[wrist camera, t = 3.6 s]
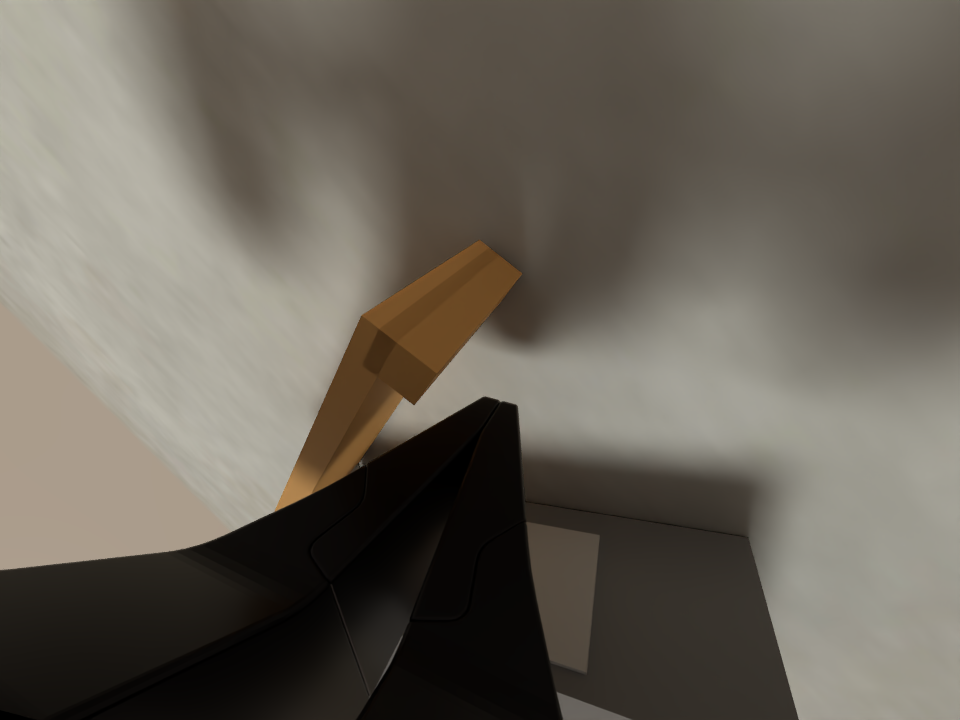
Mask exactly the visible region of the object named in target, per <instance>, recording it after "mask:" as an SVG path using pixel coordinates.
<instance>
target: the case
mask: <svg viewBox="0 0 960 720" xmlns="http://www.w3.org/2000/svg"><path fill="white" fill-rule="evenodd" d="M357 469H359V466H358V464H357V465H356V467H355V468H354V469H353V470H352V471H351V472H350V473H352V472H354V471H355V470H357ZM525 506H526V519H527V521H526V524H527V529H528V543H529V551H530V560H531V569H532V575H533V581H534V586H535V592H536V597H537V603H538V607H539V612H540V617H541V621H542V626H543V631H544V635H545V640H546V645H547V649H548V654H549V659H550V664H551V668H552V673H553V678H554V682H555V687H556V692H557V696H558V700H559V704H560V708H561V712H562V716H563V720H799V719H798V715H797V712H796V708H795V705H794V701H793V697H792V694H791V690H790V687H789V683H788V679H787V676H786V672H785V668H784V665H783V661H782V658H781V654H780V650H779V647H778V643H777V640H776V636H775V632H774V629H773V625H772V622H771V618H770V614H769V611H768V607H767V604H766V600H765V596H764V593H763V589H762V586H761V582H760V578H759V575H758V571H757V567H756V564H755V560H754V557H753V553H752V549H751V546H750V542H749V539H748V538H747V537H741V536H735V535H728V534H722V533H716V532H710V531H703V530H697V529H691V528H685V527H678V526H672V525H666V524H660V523H653V522H647V521H641V520H635V519H628V518H622V517H616V516H610V515H603V514H597V513H591V512H585V511H578V510H572V509H566V508H559V507H553V506H547V505H541V504H534V503H528V502H525ZM404 632H405V631H404ZM403 634H404V633H403ZM402 637H403V635H402ZM402 637H401V639H402ZM401 639H400V641H401ZM400 641H399V643H398V645H397V647H396V649H395V651H394V653H393V655H392V656H391V658H390V660H389V662H388V664H387V666H386V668H385V670H384V672H383V674H382V676H381V678H382V677H383V675H384V674H385V672H386V670H387V668H388V667H389V665H390V663H391V661H392V659H393V657H394V655H395V653H396V650H397V648H398V646H399V644H400ZM381 678H380V680H381ZM380 680H379V682H380ZM379 682H378V683H379ZM377 685H378V684H377ZM376 687H377V686H376ZM369 698H370V696H369Z"/></svg>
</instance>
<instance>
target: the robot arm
mask: <svg viewBox="0 0 960 720" xmlns="http://www.w3.org/2000/svg"><path fill="white" fill-rule="evenodd" d="M526 521H527V519H526V506H525V492H524V479H523V466H522V453H521V440H520V427H519V414H518V406H517V405H516V404H512V403H508V402H504V401H502V402H500V401H499V400H497V399H493V398H489V397H482V398H480V399H478V400H477V401H475V402H473V403H472V404H470V405H468V406H466V407H465V408H463V409H461V410H459V411H458V412H456V413H454V414H453V415H451V416H449V417H447V418H446V419H444V420H442V421H440V422H439V423H437V424H435V425H433V426H432V427H430V428H428V429H427V430H425V431H423V432H421V433H420V434H418V435H416V436H414V437H413V438H411V439H409V440H408V441H406V442H404V443H402V444H401V445H399V446H397V447H395V448H394V449H392V450H390V451H388V452H387V453H385V454H383V455H382V456H380V457H378V458H376V459H375V460H373V461H371V462H369V463H368V464H367V467H366V466H362V467H361V468H359V469H357V470H355V471H354V472H352V473H350V474H348V475H347V476H345V477H343V478H341V479H339V480H337V481H336V482H334V483H332V484H330V485H328V486H327V487H325V488H323V489H321V490H319V491H317V492H315V493H313V494H311V495H309V496H306V497H304V498H302V499H300V500H298V501H296V502H294V503H292V504H290V505H288V506H286V507H284V508H281V509H279V510H277V511H275V512H273V513H271V514H269V515H267V516H264V517H262V518H260V519H258V520H256V521H254V522H252V523H250V524H247V525H245V526H243V527H241V528H239V529H237V530H235V531H232V532H230V533H228V534H226V535H224V536H221V537H219V538H217V539H214V540H212V541H209V542H206V543H203V544H200V545H197V546H193V547H190V548H186V549H181V550H176V551H169V552H162V553H153V554H144V555H135V556H126V557H116V558H107V559H98V560H89V561H81V562H71V563H62V564H53V565H44V566H36V567H26V568H17V569H8V570H0V720H563V716H562V712H561V708H560V704H559V700H558V696H557V692H556V687H555V682H554V678H553V673H552V668H551V664H550V659H549V654H548V649H547V645H546V640H545V635H544V631H543V626H542V621H541V617H540V612H539V607H538V603H537V597H536V592H535V586H534V581H533V575H532V569H531V560H530V551H529V543H528V529H527V524H526ZM404 631H405V632H404ZM403 633H404V634H403ZM402 635H403V637H402ZM401 637H402V639H401ZM400 639H401V641H400ZM399 641H400V644H399V646H398V648H397V650H396V653H395V655H394V657H393V659H392V661H391V663H390V665H389V667H388V668H387V670H386V672H385V674H384V675H383V677H382V678H381V676H382V674H383V672H384V670H385V668H386V666H387V664H388V662H389V660H390V658H391V656H392V655H393V653H394V651H395V649H396V647H397V645H398V643H399ZM380 678H381V680H380ZM379 680H380V682H379ZM378 682H379V683H378ZM377 684H378V685H377ZM376 686H377V687H376ZM369 696H370V698H369Z"/></svg>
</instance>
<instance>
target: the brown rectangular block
mask: <svg viewBox="0 0 960 720" xmlns="http://www.w3.org/2000/svg"><path fill="white" fill-rule="evenodd" d="M521 275H522V273H521V272H520V271H518V270H517V269H516V268H515V267H513V266H512V265H511V264H509V263H508V262H507V261H506V260H504V259H503V258H502V257H501V256H499V255H498V254H497V253H496V252H494V251H493V250H492V249H490V248H489V247H488V246H487V245H485V244H484V243H483V242H482V241H480V240H478V241H477V242H475V243H474V244H472V245H471V246H469V247H468V248H466V249H464V250H463V251H461V252H460V253H458V254H457V255H455V256H453V257H452V258H450V259H449V260H447V261H446V262H444V263H443V264H441V265H439V266H438V267H436V268H435V269H433V270H432V271H430V272H428V273H427V274H425V275H424V276H422V277H421V278H419V279H418V280H416V281H414V282H413V283H411V284H410V285H408V286H407V287H405V288H404V289H402V290H400V291H399V292H397V293H396V294H394V295H393V296H391V297H389V298H388V299H386V300H385V301H383V302H382V303H380V304H379V305H377V306H375V307H374V308H372V309H371V310H369V311H368V312H366V313H365V314H363V315H362V316H361V318H360V320H359V322H358V325H357V327H356V329H355V331H354V334H353V336H352V338H351V340H350V343H349V345H348V347H347V349H346V352H345V354H344V356H343V358H342V361H341V363H340V365H339V367H338V370H337V372H336V374H335V376H334V379H333V381H332V383H331V385H330V388H329V390H328V392H327V394H326V397H325V399H324V401H323V403H322V406H321V408H320V410H319V412H318V415H317V417H316V419H315V421H314V424H313V426H312V428H311V430H310V433H309V435H308V437H307V440H306V442H305V444H304V446H303V449H302V451H301V453H300V455H299V458H298V460H297V462H296V464H295V467H294V469H293V471H292V473H291V476H290V478H289V480H288V482H287V485H286V487H285V489H284V491H283V494H282V496H281V498H280V500H279V503H278V505H277V507H276V509H275V511H277V510H279V509H281V508H284V507H286V506H288V505H290V504H292V503H294V502H296V501H298V500H300V499H302V498H304V497H306V496H309V495H311V494H313V493H315V492H317V491H319V490H321V489H323V488H325V487H327V486H328V485H330V484H332V483H334V482H336V481H337V480H339V479H341V478H343V477H345V476H347V475H348V474H350V472H351V471H352V470H353V469H354V468H355V467H356V465H357V464H358V463H359V462H360V460H361V459H362V457H363V456H364V454H365V453H366V452H367V450H368V449H369V447H370V446H371V444H372V443H373V441H374V440H375V438H376V437H377V435H378V434H379V432H380V431H381V429H382V428H383V426H384V425H385V423H386V422H387V421H388V419H389V418H390V416H391V415H392V413H393V412H394V410H395V409H396V407H397V406H398V404H399V403H400V401H401V400H402V398H403V397H404V398H405V399H407V400H408V401H409V402H411V403H412V404H413V405H415V404H416V402H417V401H418V400H419V399H420V398H421V396H422V395H423V394H424V393H425V392H426V390H427V389H428V388H429V387H430V386H431V384H432V383H433V382H434V381H435V380H436V378H437V377H438V376H439V375H440V374H441V373H442V371H443V370H444V369H445V368H446V367H447V365H448V364H449V363H450V362H451V361H452V359H453V358H454V357H455V356H456V355H457V353H458V352H459V351H460V350H461V349H462V347H463V346H464V345H465V344H466V343H467V341H468V340H469V339H470V338H471V337H472V336H473V334H474V333H475V332H476V331H477V330H478V328H479V327H480V326H481V325H482V324H483V322H484V321H485V320H486V319H487V318H488V316H489V315H490V314H491V313H492V312H493V310H494V309H495V308H496V307H497V306H498V304H499V303H500V302H501V301H502V300H503V299H504V297H505V296H506V295H507V293H508V292H509V291H510V289H511V288H512V287H513V285H514V284H515V283H516V281H517V280H518V279H519V277H520V276H521Z"/></svg>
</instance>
